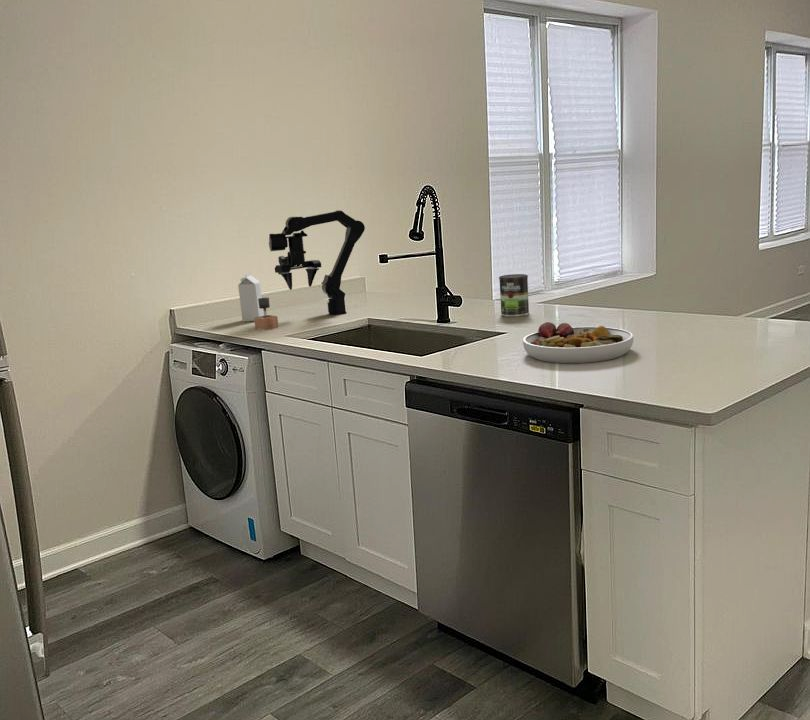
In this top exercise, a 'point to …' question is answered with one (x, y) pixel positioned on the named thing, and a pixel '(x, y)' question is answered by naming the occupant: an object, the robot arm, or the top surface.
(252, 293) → the milk carton
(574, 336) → the bowl
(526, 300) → the coffee can
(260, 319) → the reddish brown block
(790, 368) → the top surface
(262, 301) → the plunger
